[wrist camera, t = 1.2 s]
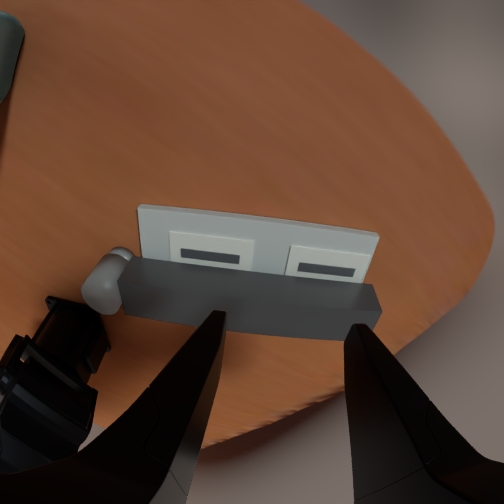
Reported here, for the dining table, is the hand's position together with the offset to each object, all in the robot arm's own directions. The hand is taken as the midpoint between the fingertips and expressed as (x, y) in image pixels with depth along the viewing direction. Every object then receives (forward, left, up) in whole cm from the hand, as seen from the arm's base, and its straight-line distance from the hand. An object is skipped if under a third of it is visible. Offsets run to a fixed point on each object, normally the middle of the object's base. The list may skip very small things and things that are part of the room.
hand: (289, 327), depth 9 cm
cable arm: (-3, -7, -10) cm, 12 cm away
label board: (-3, -7, -11) cm, 13 cm away
